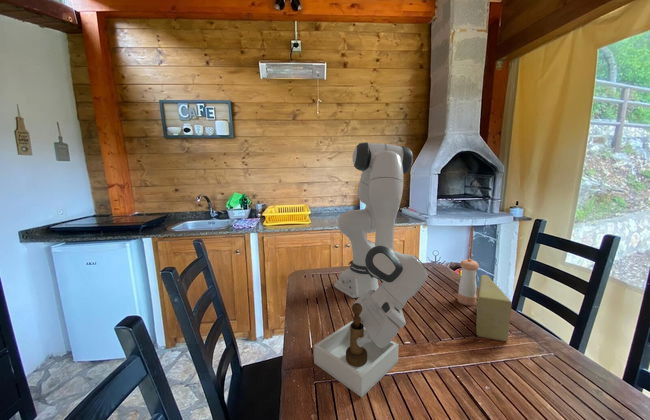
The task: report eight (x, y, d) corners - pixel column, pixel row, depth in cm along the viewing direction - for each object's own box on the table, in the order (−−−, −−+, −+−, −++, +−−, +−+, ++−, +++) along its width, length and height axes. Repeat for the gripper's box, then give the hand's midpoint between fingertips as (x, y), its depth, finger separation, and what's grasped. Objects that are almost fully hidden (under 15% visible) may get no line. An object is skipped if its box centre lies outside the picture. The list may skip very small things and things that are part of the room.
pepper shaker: (471, 297, 123) (475, 256, 120) (479, 306, 116) (482, 262, 113) (454, 297, 124) (457, 255, 121) (461, 305, 117) (464, 261, 113)
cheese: (468, 305, 116) (470, 271, 114) (495, 309, 113) (498, 274, 110) (475, 336, 96) (478, 296, 94) (508, 342, 93) (512, 300, 90)
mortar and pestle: (367, 368, 81) (368, 310, 78) (344, 365, 82) (344, 309, 79) (367, 352, 87) (368, 299, 84) (346, 350, 88) (346, 297, 85)
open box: (314, 363, 84) (313, 345, 83) (352, 336, 97) (352, 320, 96) (361, 397, 72) (361, 377, 71) (398, 362, 84) (398, 344, 83)
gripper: (366, 282, 92) (338, 312, 92) (394, 314, 73) (358, 353, 72) (378, 293, 94) (351, 323, 94) (409, 327, 74) (374, 366, 74)
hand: (354, 337), depth 83 cm, fingers open, 6 cm apart
